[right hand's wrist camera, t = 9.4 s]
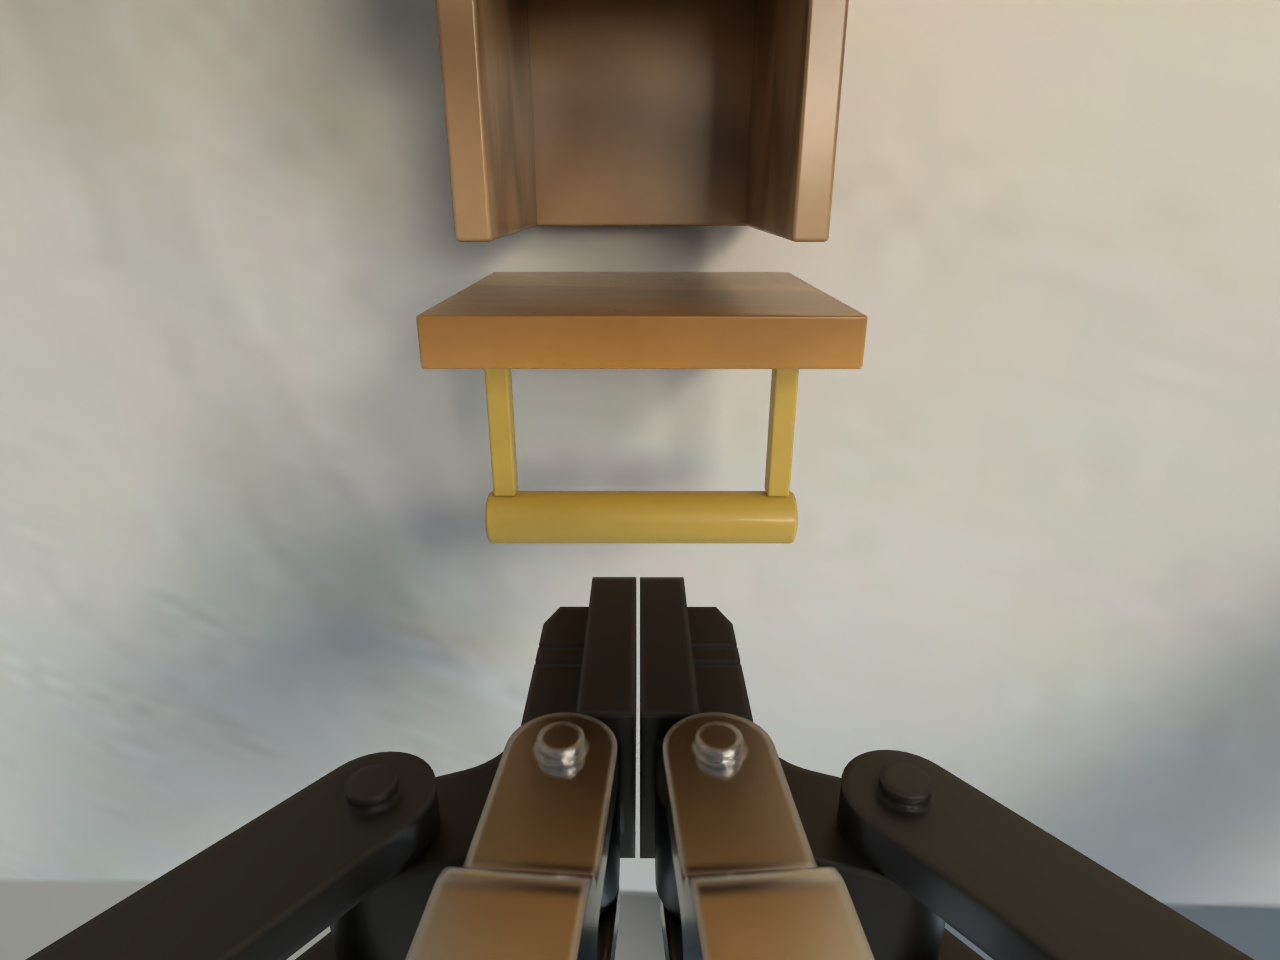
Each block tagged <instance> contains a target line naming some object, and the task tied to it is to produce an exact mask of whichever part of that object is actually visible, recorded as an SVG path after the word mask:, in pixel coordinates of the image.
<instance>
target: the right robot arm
mask: <svg viewBox="0 0 1280 960" xmlns="http://www.w3.org/2000/svg"><path fill="white" fill-rule="evenodd" d="M635 805H636V577H593V579H592V587H591V595H590V603H589V607H560V608H559V609H558V610H557V611H556V612H555V613H554V614H553V615H552V616H551V617H550V618H549V619H548V620H547V621H546V622H545V623H544V625H543V629H542V634H541V638H540V643H539V648H538V652H537V656H536V664H535V665H534V670H533V674H532V679H531V683H530V688H529V692H528V697H527V701H526V706H525V710H524V715H523V719H522V724H521V727H519V728H518V729H517V730H516V731H515V732H514V733H513V734H512V735H511V737H510V738H509V740H508V742H507V744H506V746H505V749H504V751H503V752H502V753H501V754H499V755H498V756H497V757H495V758H494V759H492V760H490V761H488V762H486V763H484V764H482V765H479V766H477V767H474V768H471V769H467V770H464V771H460V772H455V773H451V774H447V775H443V776H439V777H435V775H434V772H433V770H432V769H431V767H430V766H429V764H427V763H426V762H425V761H424V760H422V759H421V758H419V757H417V756H414V755H411V754H408V753H402V752H380V753H374V754H369V755H366V756H363V757H359V758H357V759H354V760H352V761H350V762H347V763H346V764H344V765H342V766H340V767H338V768H337V769H335V770H334V771H332V772H330V773H329V774H327V775H325V776H324V777H322V778H321V779H319V780H317V781H316V782H314V783H312V784H311V785H309V786H308V787H306V788H304V789H303V790H301V791H299V792H298V793H296V794H295V795H293V796H291V797H290V798H288V799H286V800H285V801H283V802H281V803H280V804H278V805H277V806H275V807H273V808H272V809H270V810H268V811H267V812H265V813H264V814H262V815H260V816H259V817H257V818H255V819H254V820H252V821H251V822H249V823H247V824H246V825H244V826H242V827H241V828H239V829H238V830H236V831H234V832H233V833H231V834H229V835H228V836H226V837H225V838H223V839H221V840H220V841H218V842H216V843H215V844H213V845H212V846H210V847H208V848H207V849H205V850H203V851H202V852H200V853H199V854H197V855H195V856H194V857H192V858H190V859H189V860H187V861H186V862H184V863H182V864H181V865H179V866H177V867H176V868H174V869H173V870H171V871H169V872H168V873H166V874H164V875H163V876H161V877H160V878H158V879H156V880H155V881H153V882H151V883H150V884H148V885H147V886H145V887H143V888H142V889H140V890H138V891H137V892H135V893H134V894H132V895H130V896H129V897H127V898H125V899H124V900H122V901H121V902H119V903H117V904H116V905H114V906H112V907H111V908H109V909H108V910H106V911H104V912H103V913H101V914H99V915H98V916H96V917H95V918H93V919H91V920H90V921H88V922H87V923H85V924H83V925H82V926H80V927H78V928H77V929H75V930H73V931H72V932H70V933H69V934H67V935H65V936H64V937H62V938H60V939H59V940H57V941H56V942H54V943H52V944H51V945H49V946H47V947H46V948H44V949H43V950H41V951H39V952H38V953H36V954H34V955H33V956H31V957H29V958H28V959H26V960H286V959H287V958H289V957H290V956H291V955H293V954H294V953H295V952H296V951H298V950H299V949H300V948H302V947H303V946H304V945H305V944H307V943H308V942H309V941H311V940H312V939H313V938H314V937H316V936H317V935H318V934H320V933H321V932H322V931H323V930H325V929H326V928H327V927H329V926H330V929H331V932H330V933H328V934H327V935H326V936H325V937H323V938H322V939H321V940H320V941H318V942H317V943H316V944H314V945H313V946H312V947H311V948H309V949H308V950H307V951H306V952H304V953H303V954H302V955H300V956H299V957H298V958H297V959H295V960H614V959H615V949H616V941H617V932H618V923H619V868H620V858H635ZM640 858H655V871H656V888H657V892H658V895H659V897H660V899H661V923H662V932H663V941H664V950H665V959H666V960H985V959H983V958H982V957H981V956H980V955H978V954H977V953H976V952H974V951H973V950H972V949H971V948H969V947H968V946H967V945H966V944H964V943H963V942H962V941H960V940H959V939H958V938H957V937H955V936H954V935H953V934H952V933H950V932H949V931H948V930H946V929H945V928H944V926H945V922H946V923H947V924H949V925H950V926H951V927H953V928H954V929H955V930H956V931H958V932H959V933H960V934H962V935H963V936H964V937H966V938H967V939H968V940H969V941H971V942H972V943H973V944H975V945H976V946H977V947H978V948H980V949H981V950H982V951H984V952H985V953H986V954H987V955H989V956H990V957H991V958H993V959H994V960H1254V959H1252V958H1250V957H1249V956H1247V955H1246V954H1244V953H1242V952H1241V951H1239V950H1237V949H1236V948H1234V947H1233V946H1231V945H1229V944H1228V943H1226V942H1224V941H1223V940H1221V939H1220V938H1218V937H1216V936H1215V935H1213V934H1211V933H1210V932H1208V931H1207V930H1205V929H1203V928H1202V927H1200V926H1198V925H1197V924H1195V923H1194V922H1192V921H1190V920H1189V919H1187V918H1185V917H1184V916H1182V915H1181V914H1179V913H1177V912H1176V911H1174V910H1172V909H1171V908H1169V907H1168V906H1166V905H1164V904H1163V903H1161V902H1159V901H1158V900H1156V899H1155V898H1153V897H1151V896H1150V895H1148V894H1146V893H1145V892H1143V891H1142V890H1140V889H1138V888H1137V887H1135V886H1133V885H1132V884H1130V883H1129V882H1127V881H1125V880H1124V879H1122V878H1120V877H1119V876H1117V875H1116V874H1114V873H1112V872H1111V871H1109V870H1107V869H1106V868H1104V867H1103V866H1101V865H1099V864H1098V863H1096V862H1094V861H1093V860H1091V859H1090V858H1088V857H1086V856H1085V855H1083V854H1081V853H1080V852H1078V851H1077V850H1075V849H1073V848H1072V847H1070V846H1068V845H1067V844H1065V843H1064V842H1062V841H1060V840H1059V839H1057V838H1055V837H1054V836H1052V835H1051V834H1049V833H1047V832H1046V831H1044V830H1042V829H1041V828H1039V827H1038V826H1036V825H1034V824H1033V823H1031V822H1029V821H1028V820H1026V819H1024V818H1023V817H1021V816H1020V815H1018V814H1016V813H1015V812H1013V811H1011V810H1010V809H1008V808H1007V807H1005V806H1003V805H1002V804H1000V803H998V802H997V801H995V800H994V799H992V798H990V797H989V796H987V795H985V794H984V793H982V792H981V791H979V790H977V789H976V788H974V787H972V786H971V785H969V784H968V783H966V782H964V781H963V780H961V779H959V778H958V777H956V776H955V775H953V774H951V773H950V772H948V771H946V770H945V769H943V768H942V767H940V766H938V765H937V764H935V763H933V762H931V761H929V760H927V759H925V758H922V757H920V756H917V755H914V754H910V753H907V752H901V751H894V750H877V751H871V752H867V753H864V754H861V755H859V756H857V757H855V758H854V759H853V760H851V761H850V762H849V763H848V764H847V766H846V767H845V769H844V771H843V774H842V778H839V777H835V776H830V775H826V774H822V773H818V772H814V771H810V770H807V769H803V768H800V767H797V766H795V765H793V764H790V763H788V762H786V761H784V760H783V759H781V758H779V757H778V754H777V752H776V749H775V746H774V744H773V742H772V740H771V738H770V737H769V735H768V734H767V733H766V732H765V731H764V730H763V729H762V728H761V727H759V726H758V725H756V724H755V723H754V722H753V719H752V714H751V709H750V704H749V700H748V695H747V690H746V686H745V681H744V676H743V672H742V667H741V665H740V658H739V653H738V648H737V644H736V639H735V634H734V630H733V625H732V623H731V622H730V621H729V620H728V619H727V618H726V617H725V616H724V615H723V614H722V613H721V612H720V611H719V610H718V609H717V608H716V607H687V604H686V595H685V586H684V578H683V577H640Z"/></svg>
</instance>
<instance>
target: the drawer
mask: <svg viewBox="0 0 1280 960" xmlns="http://www.w3.org/2000/svg"><path fill="white" fill-rule="evenodd" d="M848 3H849V0H436V7H437V19H438V31H439V43H440V55H441V68H442V80H443V92H444V104H445V116H446V128H447V140H448V153H449V165H450V177H451V189H452V201H453V213H454V225H455V237H456V239H457V240H458V241H491V240H494V239H497V238H500V237H503V236H506V235H509V234H512V233H515V232H518V231H521V230H524V229H527V228H530V227H533V226H749V227H753V228H756V229H759V230H762V231H765V232H768V233H771V234H774V235H777V236H780V237H783V238H786V239H789V240H792V241H795V242H825V241H827V240H828V238H829V226H830V214H831V202H832V191H833V179H834V167H835V155H836V144H837V132H838V120H839V108H840V97H841V85H842V73H843V61H844V50H845V38H846V26H847V14H848ZM416 319H417V329H418V338H419V348H420V358H421V366H422V368H424V369H485V382H486V396H487V409H488V423H489V436H490V450H491V463H492V477H493V491H492V492H490V494H489V496H488V499H487V503H486V514H485V523H486V533H487V537H488V540H489V542H491V543H792V542H793V541H794V539H795V536H796V532H797V504H796V499H795V496H794V494H793V493H792V492H790V478H791V464H792V451H793V438H794V425H795V412H796V399H797V386H798V373H799V369H860V368H862V364H863V355H864V345H865V336H866V327H867V316H866V315H864V314H862V313H860V312H859V311H857V310H855V309H853V308H851V307H850V306H848V305H846V304H844V303H842V302H841V301H839V300H837V299H835V298H833V297H832V296H830V295H828V294H826V293H824V292H823V291H821V290H819V289H817V288H815V287H814V286H812V285H810V284H808V283H806V282H805V281H803V280H801V279H799V278H797V277H795V276H794V275H792V274H790V273H788V272H494V273H492V274H490V275H489V276H487V277H485V278H483V279H482V280H480V281H478V282H476V283H474V284H473V285H471V286H469V287H467V288H466V289H464V290H462V291H460V292H458V293H457V294H455V295H453V296H451V297H450V298H448V299H446V300H444V301H442V302H441V303H439V304H437V305H435V306H434V307H432V308H430V309H428V310H426V311H425V312H423V313H421V314H419V315H418V316H417V317H416ZM511 369H772V380H771V396H770V412H769V427H768V443H767V459H766V475H765V490H766V491H517V489H518V478H517V462H516V445H515V429H514V413H513V396H512V380H511Z"/></svg>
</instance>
